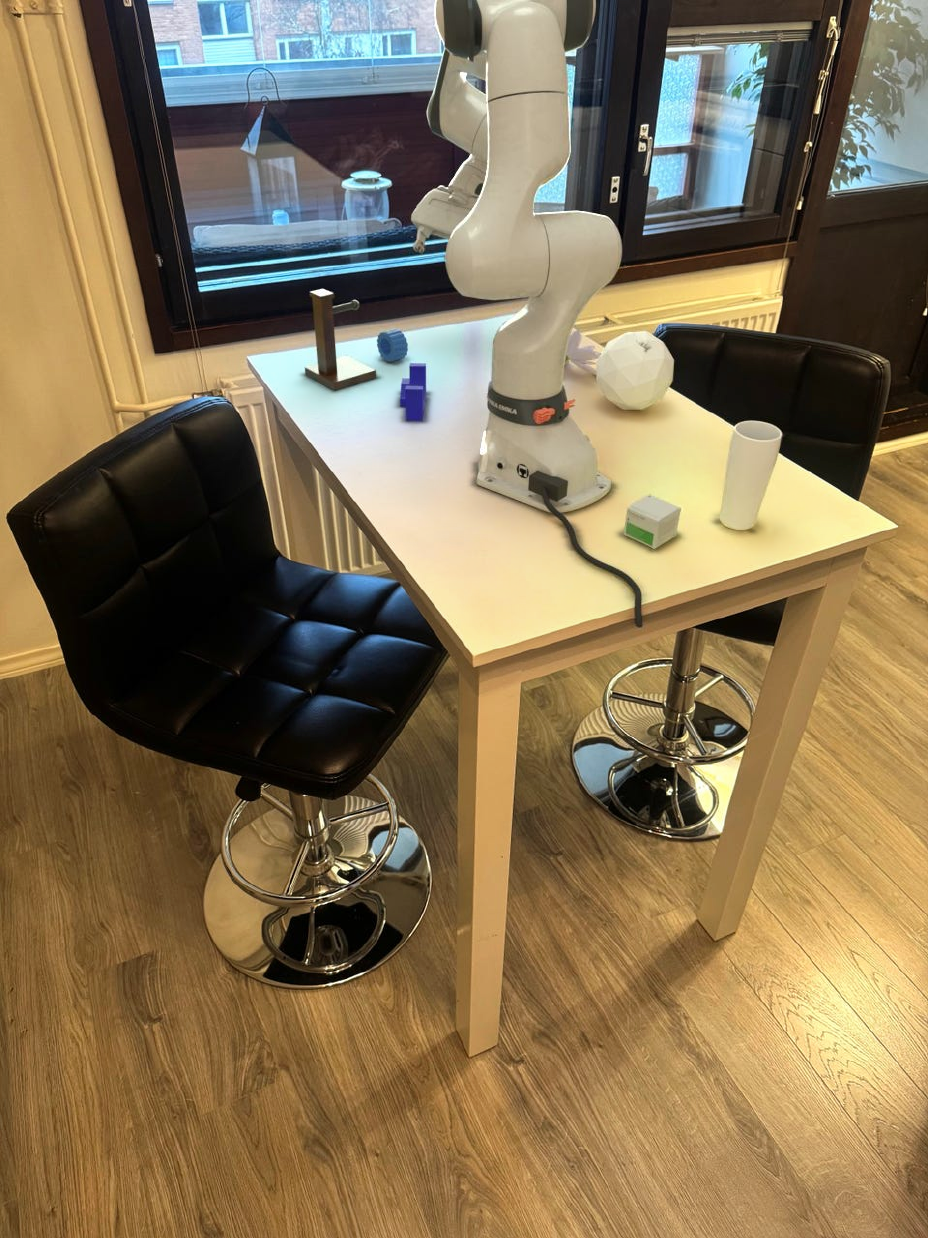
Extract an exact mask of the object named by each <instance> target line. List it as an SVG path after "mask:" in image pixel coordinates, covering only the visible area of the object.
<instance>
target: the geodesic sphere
mask: <svg viewBox="0 0 928 1238" xmlns="http://www.w3.org/2000/svg"><path fill="white" fill-rule="evenodd" d="M674 365H675V359H674V358H673V356H672V354H671V353H670V351H669V349H668V347H667V346H666V344H665V342H664V341H662V340H661V339H659V338H658V337H656V336H655V335H653V334H652V333H650V332H649V331H648V330H643V331H641V330H640V331H635V330H632V331H626V332H625V333H623V334H621V335H619V336H617V337H615V338H613V339H611V340H610V341H607V343H606V344H605V346H604V348H603V349H602V351H601V355H600V356H599V358H598V359H596V371H597V374H596V375H595V378H596V380H595V381H596V384H597V385H598V387H599V389H600V390H601V392H602V394H603V395H604V397H605V399H606V400H608V401H609V402H611V403H612V404H613V405H615V406H616V407H618V408H619V409H621V410H622V411H643V410H645V409H647V408H649V407H650V406H652V405H655V404H656V403H659V402H660V401H662V400H663V398H664V396H665V395H666V393H667V391H668V390H669V388H670V386H671V385H672V383H673V381H674V367H675V366H674Z"/></svg>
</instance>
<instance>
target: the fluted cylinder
mask: <svg viewBox="0 0 928 1238" xmlns="http://www.w3.org/2000/svg"><path fill="white" fill-rule="evenodd" d="M408 345H409V344H408V342H407V338H406V336H405V333H404V332H402V330H401V329H398V328H397V327H396V328H392V329H388V330H385V331H381V332H379V334H377V338H376V347H377V350H378V353H379V355H380V357H381V358H382V360H383V361H386V362H387V363H391V362H395V361H397V360H401V359H404V358H405V357H406V356H407V355H408V351H409V347H408Z"/></svg>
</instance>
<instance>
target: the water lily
mask: <svg viewBox="0 0 928 1238" xmlns="http://www.w3.org/2000/svg"><path fill="white" fill-rule="evenodd" d="M581 342H582V333H581V331H580V330H579V329H576V330H574V331H573V332H571V335H570V338H569V342H568V346H567V352H566V359H565V365H567V364H569V363H570V362H571V363H572V364H573V365H575V366H577V367H578V369H580V370H583V371H585V372H587V373H588V374H590V375H593V376H594V375H595V376H596V374H597V369H595V368H594V367H592V366H590V365H597V362H594V361H593V360H598V358H599V356H600V355H601V353H602V352H601V353H600V352H599V351H594V350H595V348H596V346H594V345H585V346H582V347H580V345H581Z"/></svg>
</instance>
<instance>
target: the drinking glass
mask: <svg viewBox="0 0 928 1238" xmlns="http://www.w3.org/2000/svg"><path fill="white" fill-rule="evenodd" d="M782 438H783V432H782V430H781V429H780V428H778V427H777V426H776V425H774V424H772V423H768V422H764V421H760V420H744V421H740V422H738V423H737V424H735V425H734V427H733V431H732V434H731V438H730V442H729V445H728V451H727V457H726V467H725V473H724V474H725V475H724V481H723V482H724V483H723V484H724V485H723V490H722V497H721V498H722V499H721V506H720V511H719V515H718V517H719V521H720V523H721V524H722V525H723V526H725V527H726V528H728V529H731V530H736V531H747V530H750V529H752V528H753V527H754V526H755V525H756V523H757V520H758V515H759V512H760V509H761V507H762V503H763V500H764V498H765V494H766V492H767V489H768V487H769V483H770V480H771V478H772V475H773V473H774V470H775V466H776V464H777V461H778V457H779V453H780V448H781V445H782V444H781V443H782V440H783V439H782Z"/></svg>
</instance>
